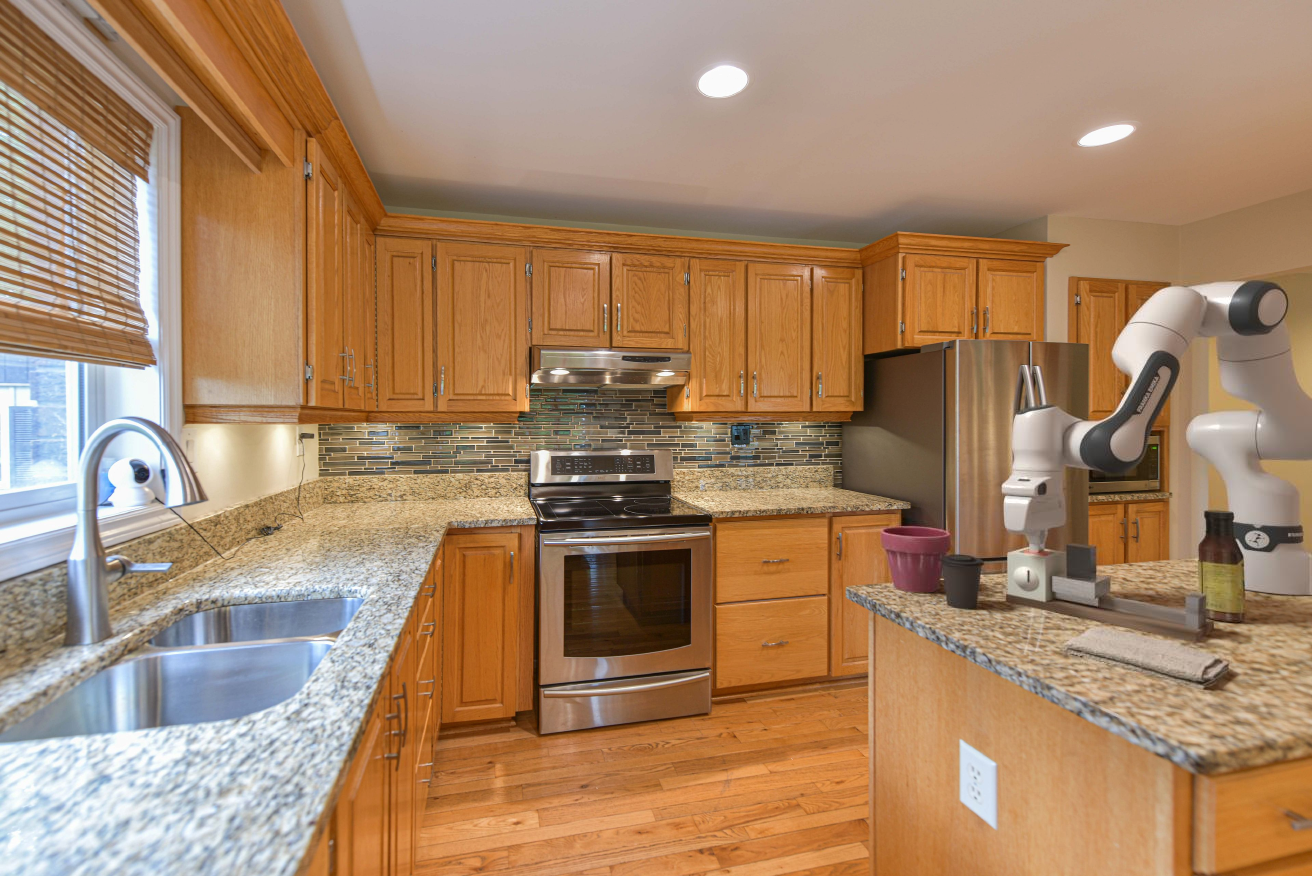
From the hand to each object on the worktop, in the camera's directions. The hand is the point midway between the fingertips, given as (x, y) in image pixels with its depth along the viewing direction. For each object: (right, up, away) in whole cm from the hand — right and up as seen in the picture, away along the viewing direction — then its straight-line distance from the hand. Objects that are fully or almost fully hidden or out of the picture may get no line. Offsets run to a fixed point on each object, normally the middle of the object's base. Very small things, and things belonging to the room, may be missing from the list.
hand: (1036, 551), depth 122 cm
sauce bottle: (+27, -10, -12) cm, 31 cm away
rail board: (+7, -10, -9) cm, 15 cm away
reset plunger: (0, -6, 0) cm, 6 cm away
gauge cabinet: (0, -10, 0) cm, 10 cm away
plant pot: (-20, -11, +11) cm, 25 cm away
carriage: (+5, -8, -6) cm, 11 cm away
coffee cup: (-17, -11, -2) cm, 20 cm away
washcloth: (-4, -11, -32) cm, 34 cm away
